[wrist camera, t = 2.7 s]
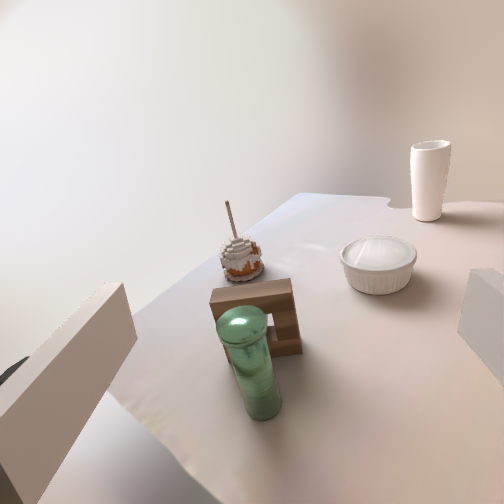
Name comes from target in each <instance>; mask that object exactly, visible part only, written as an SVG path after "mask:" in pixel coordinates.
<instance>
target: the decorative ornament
mask: <svg viewBox="0 0 504 504" xmlns="http://www.w3.org/2000/svg"><path fill="white" fill-rule="evenodd" d="M225 203H226V207H227V211H228V215H229V219H230V223H231V227H232V231H233V234H234V236H230V237H229V240H226V241H224V243H225V244H222V246H223V247H221V248H220V249H221V253H219V257H220V260H221V264H222V267H223V268H226V270H224V274H225V278H229V280H232V281H235V280H236V282H237V281H240V280H242V282H243V281H246V280H249V279H253V278H254V276H257V275H259V273H261V271H263V267H264V264H263V262H262V260H261V259H260V256H261V255H262V254H261V250H260V247H259V244H256V242H255V240H254V239H253V240H252V239H251V237H248V236H247V235H244V236H241V234H236V230H235V226H234V222H233V218H232V214H231V210H230V206H229V202H228V200H227V201H225Z"/></svg>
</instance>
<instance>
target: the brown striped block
mask: <svg viewBox="0 0 504 504" xmlns="http://www.w3.org/2000/svg"><path fill="white" fill-rule="evenodd" d="M209 304H210V307H211V310H212V313H213V316H214V319H215V322H216V324H217V321H218V319H219V318H220V317H221V316H222V315H223V314H224V313H225V312H227V311H228V310H230V309H232V308H235V307H238V306H245V305H249V306H255V307H257V308H259V309H261V310H262V311H263V313H264V314H270V313H272V316H273V321H274V325H275V326H267V345H268V349H269V353H270V357H278V356H288V355H297V354H302V346H301V337H300V331H299V326H298V320H297V314H296V308H295V303H294V297H293V291H292V285H291V280H290V278H288V279H280V280H273V281H266V282H259V283H252V284H245V285H238V286H231V287H223V288H216V289H213V291H212V295H211V299H210V302H209ZM223 347H224V350H225V353H226V356H227V359H228V362H231V359H230V356H229V353H228V350H227V347H226V346H224V345H223Z"/></svg>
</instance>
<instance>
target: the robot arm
mask: <svg viewBox="0 0 504 504" xmlns="http://www.w3.org/2000/svg"><path fill="white" fill-rule="evenodd" d="M458 333H459V334H460V336H461V337H462V338H463V339H464V340H465V341H466V343H467V344H468V345H469V346H470V347H471V349H472V350H473V351H474V352H475V353H476V354H477V356H478V357H479V358H480V359H481V360H482V362H483V363H484V364H485V365H486V366H487V367H488V369H489V370H490V371H491V372H492V373H493V375H494V376H495V377H496V378H497V379H498V380H499V382H500V383H501V384H502V385H503V386H504V276H503V275H502V274H500V273H499V272H497V271H496V270H494V269H493V268H491V269H470V274H469V279H468V284H467V288H466V293H465V298H464V303H463V308H462V312H461V317H460V322H459V327H458ZM137 339H138V338H137V335H136V331H135V327H134V323H133V319H132V316H131V312H130V308H129V304H128V300H127V296H126V293H125V289H124V285H123V283H104V284H103V285H102V286H101V287H100V288H99V289H98V290H97V291H96V292H95V293H94V294H93V295H92V296H91V297H90V298H89V299H88V300H87V301H86V302H85V303H84V304H83V305H82V306H81V307H80V308H79V309H78V310H77V311H76V312H75V313H74V314H73V315H72V316H71V317H70V318H69V319H68V320H67V321H66V322H65V323H64V324H63V325H62V326H61V327H60V328H59V329H58V330H57V331H56V332H55V333H54V334H53V335H52V336H51V337H50V338H49V339H48V340H46V341H45V342H44V344H42V346H40V348H38V349H37V350H36V352H34V353H33V354H32V355H31V356H30V357H25V358H24V359H22V360H21V361H19V362H17V363H16V364H14V365H13V366H11V367H10V368H8V369H7V370H6V371H5V372H4V373H3V374H2V375H1V376H0V504H37V503H38V501H39V499H40V498H41V496H42V494H43V493H44V491H45V489H46V488H47V486H48V485H49V483H50V481H51V480H52V478H53V476H54V475H55V473H56V472H57V470H58V468H59V466H60V465H61V463H62V462H63V460H64V458H65V457H66V455H67V454H68V452H69V450H70V449H71V447H72V445H73V444H74V442H75V440H76V439H77V437H78V436H79V434H80V432H81V431H82V429H83V427H84V426H85V424H86V422H87V421H88V419H89V418H90V416H91V414H92V413H93V411H94V409H95V408H96V406H97V404H98V403H99V401H100V400H101V398H102V396H103V395H104V393H105V391H106V390H107V388H108V387H109V385H110V383H111V382H112V380H113V378H114V377H115V375H116V373H117V372H118V370H119V369H120V367H121V365H122V364H123V362H124V360H125V359H126V357H127V355H128V354H129V352H130V351H131V349H132V347H133V346H134V344H135V342H136V341H137Z"/></svg>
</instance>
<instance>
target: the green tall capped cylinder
mask: <svg viewBox="0 0 504 504" xmlns="http://www.w3.org/2000/svg"><path fill="white" fill-rule="evenodd" d="M267 320H268V314H264V313H263V311H262V310H261V309H259V308H257V307H255V306H249V305H245V306H238V307H235V308H232V309H230V310H228V311H227V312H225V313H224V314H223V315H222V316H221V317H220V318H219V319H218V321H217V324H216V330H217V333H218V336H219V339H220V342H221V343H222V344H223V345H224V346H226V347H227V350H228V353H229V356H230V359H231V363H232V366H233V369H234V372H235V375H236V378H237V381H238V384H239V387H240V390H241V393H242V397H243V400H244V403H245V406H246V409H247V412H248V414H249V415H250V416H251V417H252V418H254V419H256V420H267V419H270V418H272V417H273V416H275V415H276V414H277V413H278V411H279V409H280V407H281V399H280V395H279V390H278V386H277V382H276V378H275V374H274V370H273V366H272V361H271V357H270V353H269V349H268V345H267Z"/></svg>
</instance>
